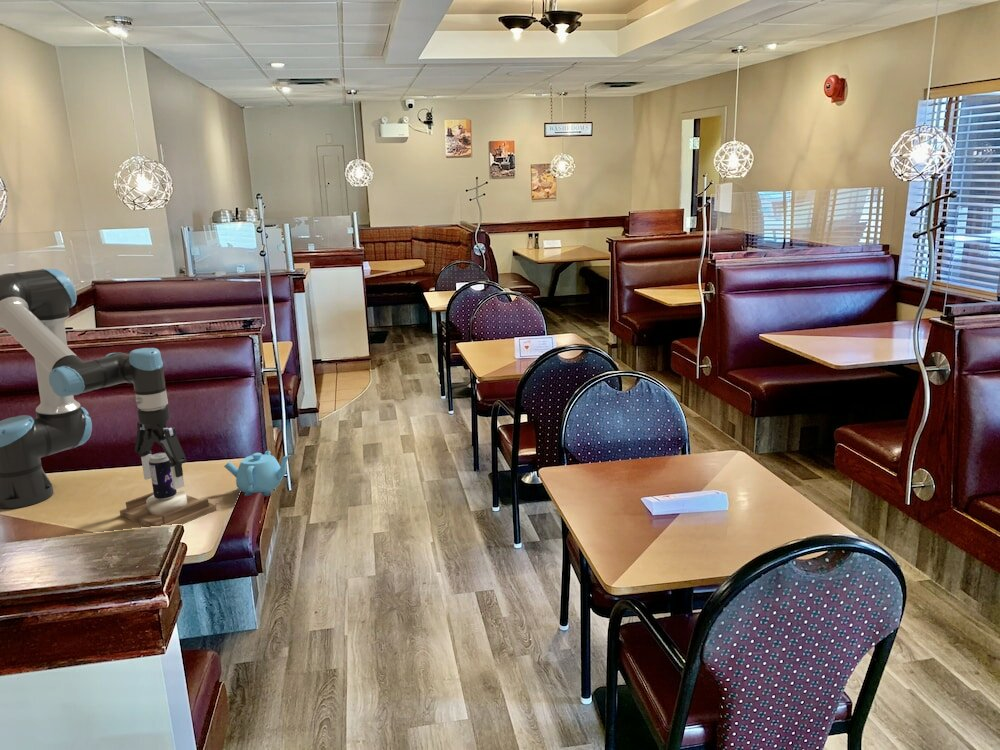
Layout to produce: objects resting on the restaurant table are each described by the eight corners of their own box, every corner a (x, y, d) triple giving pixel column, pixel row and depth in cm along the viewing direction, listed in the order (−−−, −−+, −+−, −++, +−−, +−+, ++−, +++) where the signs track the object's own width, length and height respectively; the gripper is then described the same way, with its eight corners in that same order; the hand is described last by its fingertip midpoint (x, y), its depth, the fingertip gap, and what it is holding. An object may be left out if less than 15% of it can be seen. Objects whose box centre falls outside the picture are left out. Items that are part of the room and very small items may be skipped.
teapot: (277, 477, 234) (273, 441, 231) (295, 490, 223) (291, 453, 221) (226, 490, 225) (221, 453, 222) (243, 504, 214) (238, 466, 212)
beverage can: (168, 502, 206) (162, 459, 203) (150, 501, 207) (143, 458, 204) (181, 493, 212) (175, 452, 209) (163, 492, 213) (156, 451, 210)
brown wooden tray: (120, 515, 210) (117, 500, 209) (173, 495, 222) (171, 480, 221) (163, 532, 199) (160, 516, 197) (216, 510, 211) (214, 494, 210)
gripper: (113, 404, 207) (125, 478, 212) (167, 417, 193) (178, 496, 198) (139, 397, 213) (150, 469, 218) (194, 410, 199) (204, 487, 204)
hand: (164, 482), depth 208 cm, fingers open, 13 cm apart
